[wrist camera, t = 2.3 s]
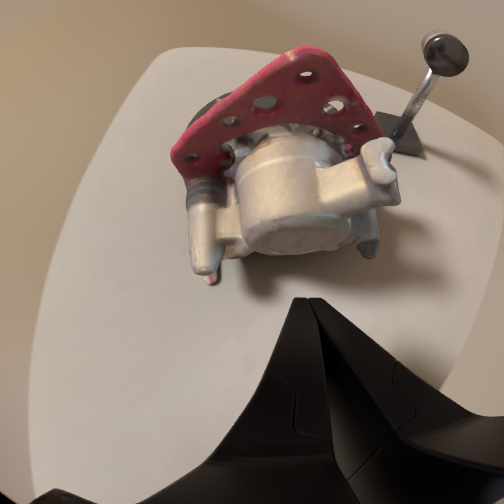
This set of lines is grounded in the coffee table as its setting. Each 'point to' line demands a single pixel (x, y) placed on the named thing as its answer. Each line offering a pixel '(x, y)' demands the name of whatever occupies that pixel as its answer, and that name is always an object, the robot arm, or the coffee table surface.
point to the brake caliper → (285, 167)
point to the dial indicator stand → (424, 88)
